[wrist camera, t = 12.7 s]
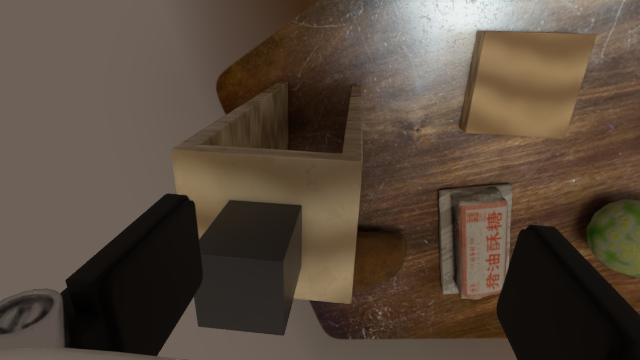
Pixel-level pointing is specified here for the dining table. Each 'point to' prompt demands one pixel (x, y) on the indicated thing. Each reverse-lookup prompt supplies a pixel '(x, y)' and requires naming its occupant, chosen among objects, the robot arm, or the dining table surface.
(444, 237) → the packaged product
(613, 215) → the decorative ball
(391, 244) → the potato
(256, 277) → the block
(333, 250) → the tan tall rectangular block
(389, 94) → the dining table surface
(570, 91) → the tan flat square block
